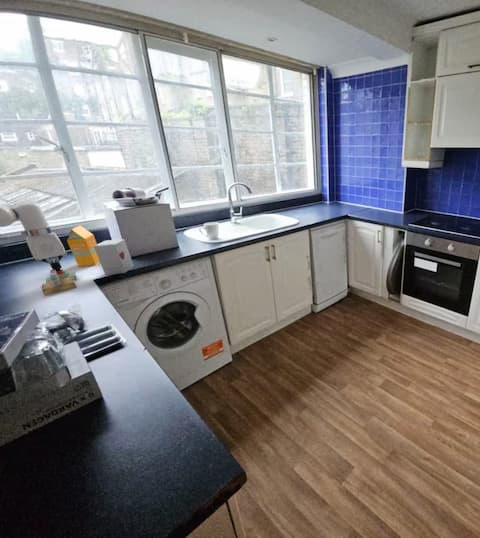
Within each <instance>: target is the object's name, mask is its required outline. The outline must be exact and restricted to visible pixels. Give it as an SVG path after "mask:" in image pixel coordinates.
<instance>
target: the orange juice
mask: <svg viewBox="0 0 480 538" xmlns="http://www.w3.org/2000/svg"><path fill="white" fill-rule="evenodd" d="M66 241H67V244H68V246H69V248H70V251H71V253H72V255H73V257H74V260H75V262H76V264H77V267H78V268H82V267H83V268H84V267H89V266H90V267H91V266H97V265H98V264H99V263H100V261H99V258H98V256H97V253H96V251H95V248H94V246H95V245H97V244H98V242H97V240H96V238H95V235H94V234H93V233H92V232H91V231H89V230H87V229H86V228H85V227H83V226H82V225H81V224H80V225H78V226H75V227H73V228H71V229H70V231H69V234H68V237H67V239H66Z"/></svg>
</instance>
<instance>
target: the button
mask: <svg viewBox="0 0 480 538" xmlns="http://www.w3.org/2000/svg"><path fill="white" fill-rule="evenodd" d="M64 271H65V270H63V269H61V271H57V274H58V275H61V274H64Z"/></svg>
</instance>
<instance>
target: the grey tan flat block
mask: <svg viewBox="0 0 480 538" xmlns="http://www.w3.org/2000/svg"><path fill="white" fill-rule="evenodd" d="M50 276H51V278H52V280H53V282H54V284H55V286H56V285H60V279H59V277H58V274H57V272H56V270H55V269H54V270H53V269H50V271H49V277H50Z"/></svg>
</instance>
